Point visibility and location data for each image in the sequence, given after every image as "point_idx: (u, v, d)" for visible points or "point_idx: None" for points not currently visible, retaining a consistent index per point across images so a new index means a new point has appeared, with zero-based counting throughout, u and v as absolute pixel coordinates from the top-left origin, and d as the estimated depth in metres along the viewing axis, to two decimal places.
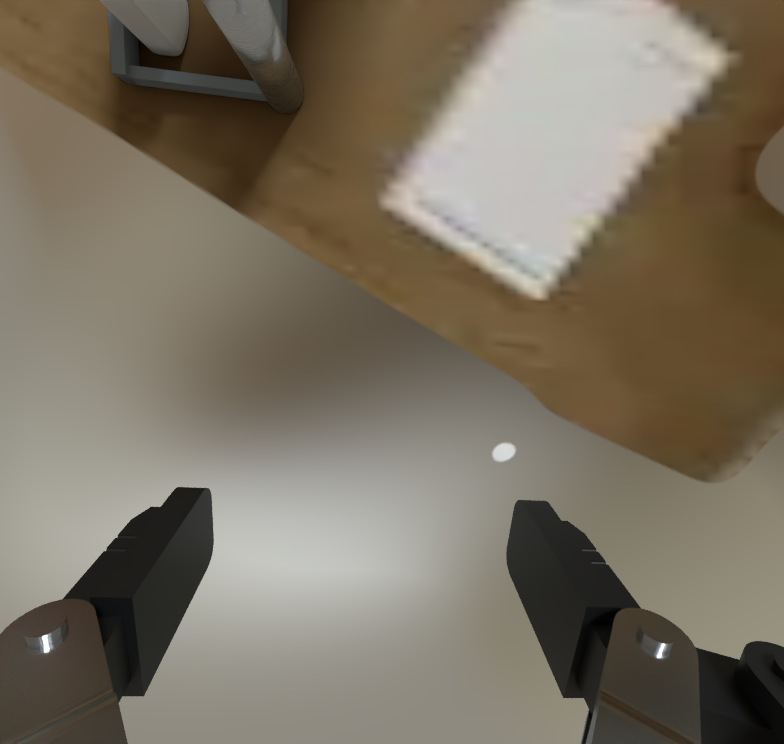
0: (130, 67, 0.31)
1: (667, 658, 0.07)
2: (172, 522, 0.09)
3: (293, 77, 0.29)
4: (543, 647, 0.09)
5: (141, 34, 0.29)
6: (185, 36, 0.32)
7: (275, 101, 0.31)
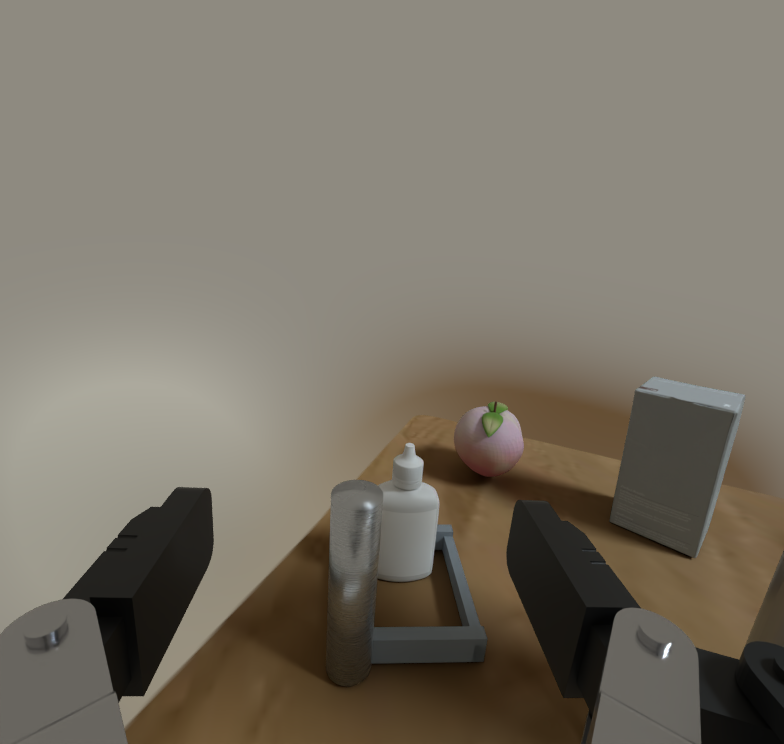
0: None
1: (667, 658, 0.07)
2: (172, 522, 0.09)
3: (344, 635, 0.26)
4: (543, 646, 0.09)
5: None
6: (384, 577, 0.36)
7: None
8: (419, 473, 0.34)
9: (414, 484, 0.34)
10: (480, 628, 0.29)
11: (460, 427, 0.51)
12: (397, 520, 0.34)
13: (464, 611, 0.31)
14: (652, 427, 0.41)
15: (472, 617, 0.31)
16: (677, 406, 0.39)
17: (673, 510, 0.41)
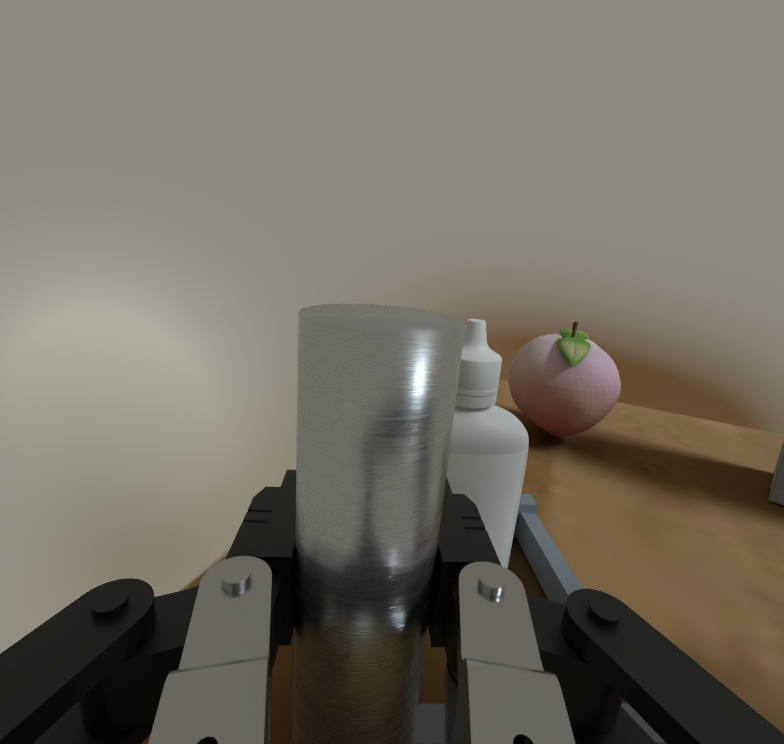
0: None
1: (495, 600, 0.07)
2: None
3: None
4: None
5: None
6: None
7: None
8: (496, 375, 0.17)
9: (484, 398, 0.17)
10: None
11: (522, 360, 0.34)
12: (450, 470, 0.17)
13: None
14: None
15: None
16: None
17: None
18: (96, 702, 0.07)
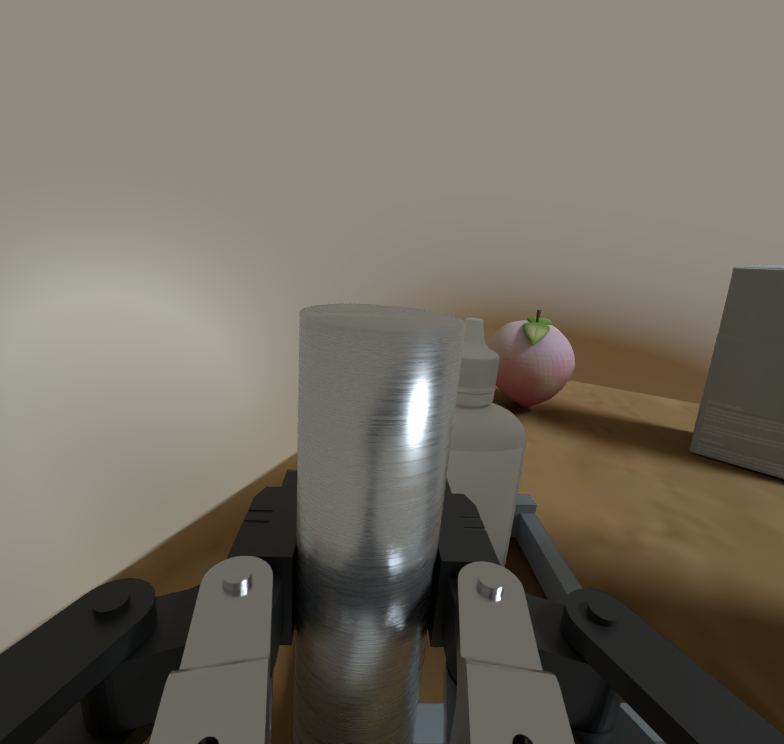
0: None
1: (494, 600, 0.07)
2: None
3: None
4: None
5: None
6: None
7: None
8: (493, 373, 0.17)
9: (482, 396, 0.17)
10: None
11: (495, 341, 0.41)
12: None
13: None
14: (758, 315, 0.31)
15: None
16: None
17: None
18: (97, 702, 0.07)
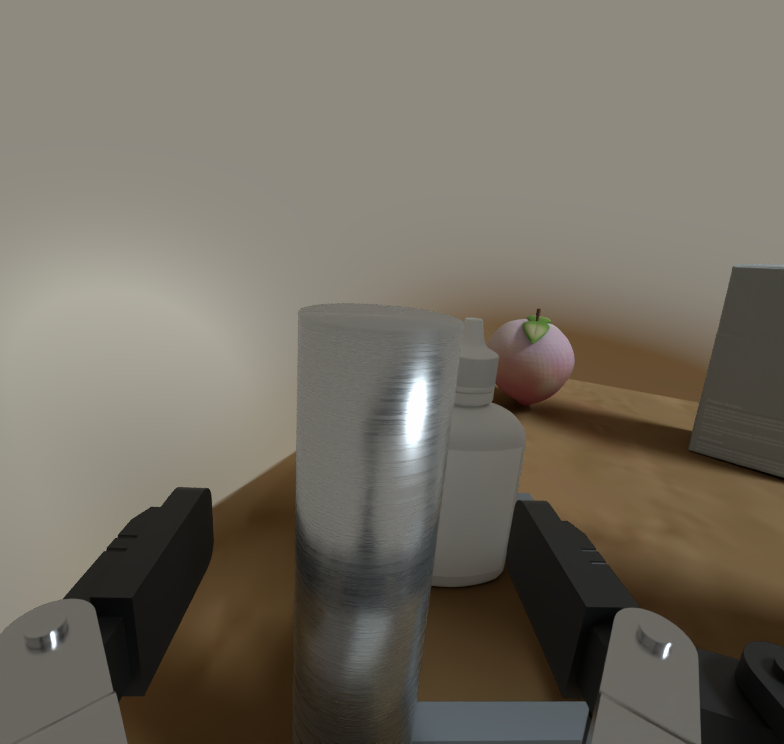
0: None
1: (667, 658, 0.07)
2: (172, 522, 0.09)
3: None
4: (543, 647, 0.09)
5: None
6: None
7: None
8: (493, 373, 0.17)
9: (481, 395, 0.17)
10: None
11: (494, 340, 0.41)
12: (447, 466, 0.17)
13: None
14: (757, 313, 0.31)
15: None
16: None
17: None
18: None
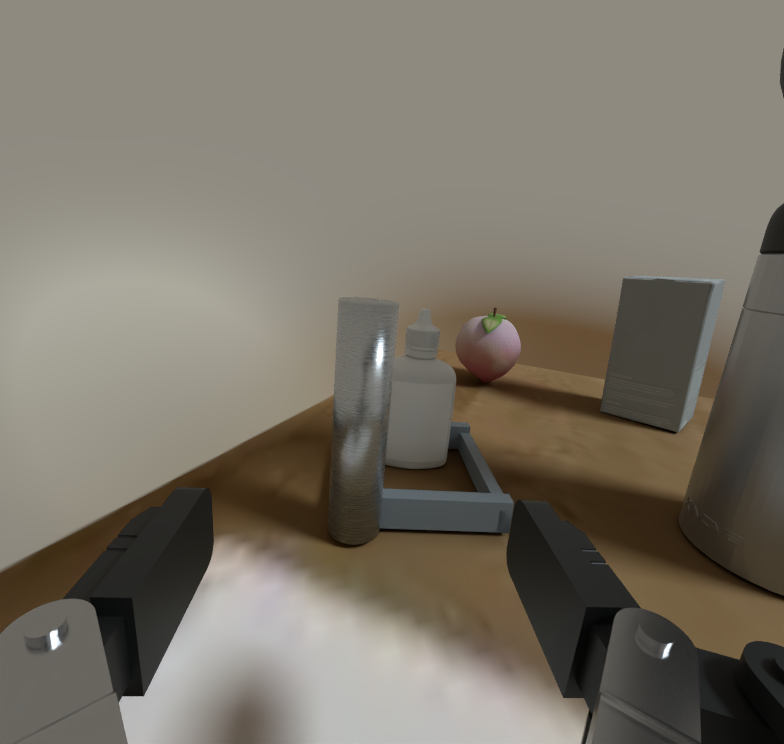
0: None
1: (667, 658, 0.07)
2: (172, 522, 0.09)
3: (350, 475, 0.22)
4: (543, 646, 0.09)
5: None
6: (394, 462, 0.32)
7: None
8: (435, 339, 0.30)
9: (429, 352, 0.30)
10: (505, 495, 0.25)
11: (461, 331, 0.54)
12: (409, 392, 0.31)
13: (485, 486, 0.28)
14: (638, 311, 0.44)
15: (495, 490, 0.27)
16: (661, 286, 0.43)
17: (657, 388, 0.44)
18: None
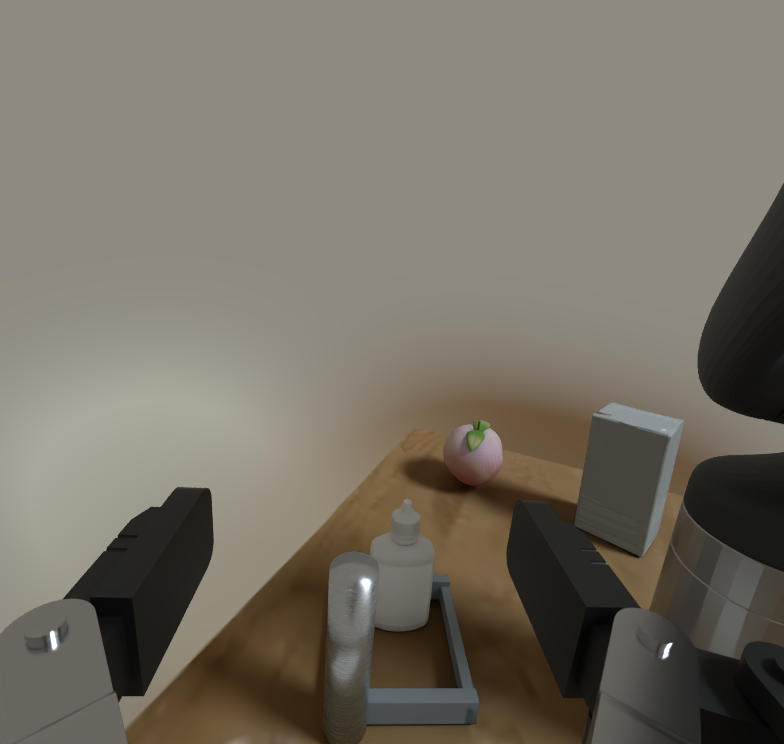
0: None
1: (667, 658, 0.07)
2: (172, 522, 0.09)
3: (340, 701, 0.27)
4: (543, 647, 0.09)
5: None
6: (381, 626, 0.37)
7: None
8: (416, 529, 0.35)
9: (410, 540, 0.35)
10: (473, 690, 0.30)
11: (448, 443, 0.59)
12: (394, 574, 0.35)
13: (458, 670, 0.32)
14: (605, 447, 0.49)
15: (465, 677, 0.32)
16: (625, 430, 0.47)
17: (623, 516, 0.49)
18: None
